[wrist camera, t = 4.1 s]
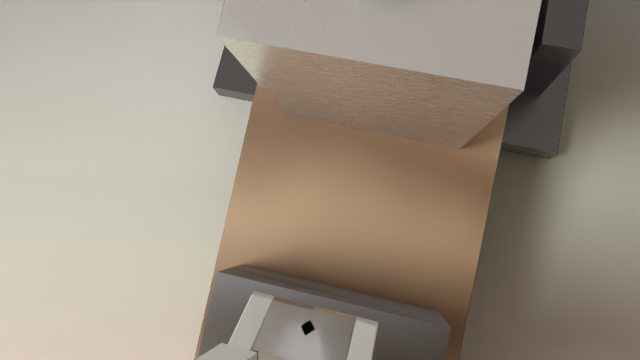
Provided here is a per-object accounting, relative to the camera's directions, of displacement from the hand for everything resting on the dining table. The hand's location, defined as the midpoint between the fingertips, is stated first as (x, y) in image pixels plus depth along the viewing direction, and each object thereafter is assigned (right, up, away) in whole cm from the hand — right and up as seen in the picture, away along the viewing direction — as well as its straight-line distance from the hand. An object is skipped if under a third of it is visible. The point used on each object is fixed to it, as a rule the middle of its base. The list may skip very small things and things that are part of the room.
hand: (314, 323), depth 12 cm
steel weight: (+3, +9, +8) cm, 12 cm away
